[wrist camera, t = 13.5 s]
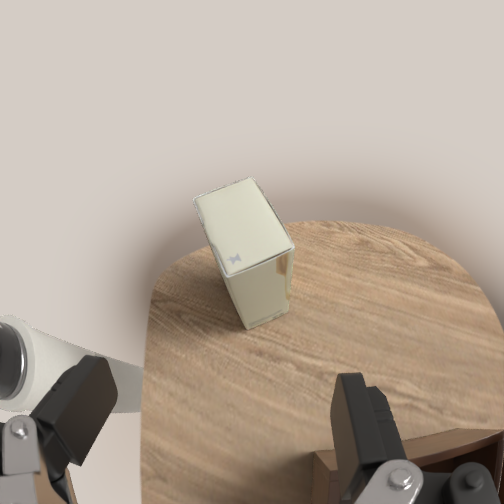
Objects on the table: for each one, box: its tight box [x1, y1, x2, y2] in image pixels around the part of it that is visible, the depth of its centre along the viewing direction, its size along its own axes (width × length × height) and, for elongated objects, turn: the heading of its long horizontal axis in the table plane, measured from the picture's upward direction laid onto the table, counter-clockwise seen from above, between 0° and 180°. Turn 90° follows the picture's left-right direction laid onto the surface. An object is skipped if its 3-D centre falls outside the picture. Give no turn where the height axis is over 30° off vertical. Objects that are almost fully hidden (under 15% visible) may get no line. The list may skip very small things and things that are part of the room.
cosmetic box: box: [193, 176, 295, 330], centre depth 23 cm, size 6×4×12 cm
